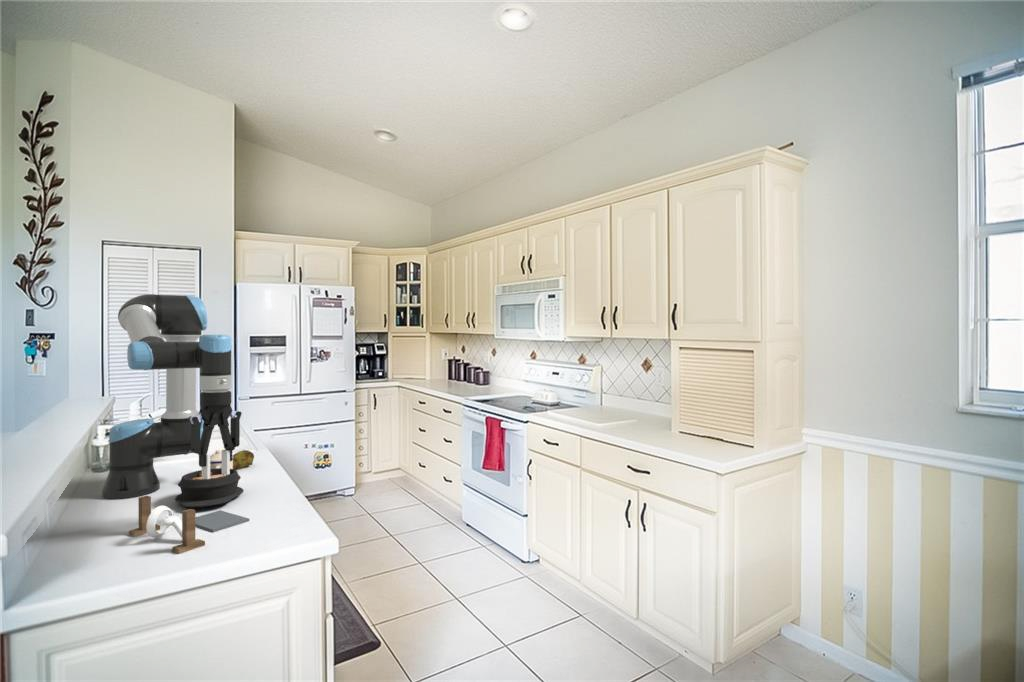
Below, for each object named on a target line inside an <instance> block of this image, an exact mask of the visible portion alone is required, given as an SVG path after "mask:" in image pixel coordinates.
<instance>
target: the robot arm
mask: <svg viewBox="0 0 1024 682" xmlns="http://www.w3.org/2000/svg"><path fill="white" fill-rule="evenodd" d="M204 303H205V302H204V301H203V300H202V298H200V297H198V296H191V295H176V294H174V295H173V294H172V295H171V294H155V293H154V294H153V293H152V294H150V293H148V294H142V295H141V294H140V295H137V296H135V297H132V298H131V299H129V300H127V301H126V302H124V304H122V306H121V307H120V308H119V310H118V314H117V320H118V324H119V325H120V327H121V328H122V329H123V330H124V331H126V332H127V335H128V338H129V339H130V343H129V344H128V345H127V351H126V352H127V353H126V354H127V366H128V368H129V369H130V370H136V371H137V370H142V371H150V370H165V371H166V373H165V374H166V376H165V378H166V380H165V381H166V383H165V389H166V390H165V395H166V396H165V397H166V398H165V401H166V403H165V404H166V405H165V407H166V408H165V412H164V413H163V414H161V415H160V421H157V422H155V421H154V419H153V418H139V419H133V420H129V421H124V422H120V423H118V424H114V425H112V426H111V428H110V429H109V436H108V443H109V446H108V447H109V450H108V451H109V454H108V455H109V456H108V457H109V458H108V459H109V460H108V461H109V462H108V464H109V465H108V468H109V469H108V475H107V477H106V479H105V483H104V485H103V487H102V491H101V493H102V495H101V496H102V498H103V499H105V500H111V501H113V500H114V501H115V500H116V501H117V500H118V501H119V500H128V499H129V500H130V499H134V498H135V499H136V498H139V497H144V496H149V495H152V494H154V493H155V492H157V491H159V490H160V488H161V486H160V485H161V484H160V483H161V482H160V480H159V478H158V475H157V473H156V470H155V467H154V459H157V458H164V457H174V456H179V455H184V456H185V455H188V454H196V455H198V466H199V468H201V470H202V478H205V479H210V456H211V453H208V452H209V446H210V443H211V438H212V434H213V430H214V429H215V427H216V426H217V427H218V429H219V432H220V436H221V440H222V441H221V442H222V444H223V448H224V449H221V450H222V474H226V475H228V474H230V461H232V456H233V451H234V450H236V447H237V448H238V447H239V446H240V434H241V433H240V432H241V431H240V429H241V428H240V420H241V417H242V411H239V410H233V408H232V406H231V405H232V392H231V390H230V389H232V349H233V346H232V338H231V336H230V335H228V334H202V332H203V331H206V330H207V328H208V314H207V313H208V312H207V310H206V306H205V304H204ZM198 339H199V341H197V340H198ZM197 369H199V390H200V391H201V392H200V393H199V405H200V406H199V407H200V410H199V411H198V410H197V409H196V408H197V407H196V405H197V404H196V403H197V400H196V399H197V398H196V397H197V389H196V388H197V387H196V386H197V385H196V384H197ZM229 417H230V423H229ZM229 426H230V427H229ZM229 428H230V429H229Z"/></svg>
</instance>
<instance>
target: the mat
mask: <svg viewBox="0 0 1024 682" xmlns="http://www.w3.org/2000/svg"><path fill="white" fill-rule="evenodd" d="M249 521H250V518H249V517H246V516H245V517H244V516H241V515H239V514H234V513H231V512H228V511H225V510H221V509H220V510H216V511H212V512H210V513H206V514H202V515H199V516H195V528H196V527H197V528H198V529H199V528H200V529H203V530H206V531H209V532H211V533H215V532H218V531H222V530H224V529H227V528H231V527H234V526H237V525H241V524H244V523H246V522H249Z"/></svg>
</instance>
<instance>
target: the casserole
mask: <svg viewBox="0 0 1024 682" xmlns="http://www.w3.org/2000/svg"><path fill="white" fill-rule="evenodd" d="M241 479H242V478H241V476H240V474H239V473H238V470H234V469H230V474H228V475H226V474H222V468H216V469H210V479H205V478H202V469H201V470H195V471H191V472H188V473H186V474H184V475H183V476H181V479H180V481H179V482H178V483H177V486H178V487H179V489H180V491H181V493H180V494H178V495H177V496H175V497H174V501H175V502H176V503H179V504H181V506H183V507H185V508H203V507H210V506H211V507H212V506H218V505H223V504H226V503H228V502H230V501H232V500H233V499H234V498H236V497H238V496H240V495H242V494H243V493H244V491H245V490H244V489H243V488H242V487H241V486H238V485H239V481H240V480H241Z"/></svg>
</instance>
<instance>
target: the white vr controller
mask: <svg viewBox="0 0 1024 682" xmlns="http://www.w3.org/2000/svg"><path fill="white" fill-rule="evenodd" d="M164 511H167V512H168V515H165V516H164V517H162V518H161V519H160V524H161V525H162V526H166V527H165V528H164V529H163V531H162V532H161V533H160V532H158V530H156V529H155V524H157V520H158V517H159V516H160V515H161V513H163V512H164ZM172 526H173V528H174V529H175V531H176V532H177V533H178V534H179V536H180V537H181V538H182V518H180V517H179V516H177V515H174V512H173V510H172V509H171V508H170V507H169V506H166V505H164V504H163V505H159V506H157V507H155V508H154V509H153V510H151V514H150V515H149V517H148V520H147V524H146V529H147V533H146V534H147V535H148V536H149V537H151V538H159V537H162V536H164V535H165V534H167V533H168V532H169V531H170V529H171V527H172Z"/></svg>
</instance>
